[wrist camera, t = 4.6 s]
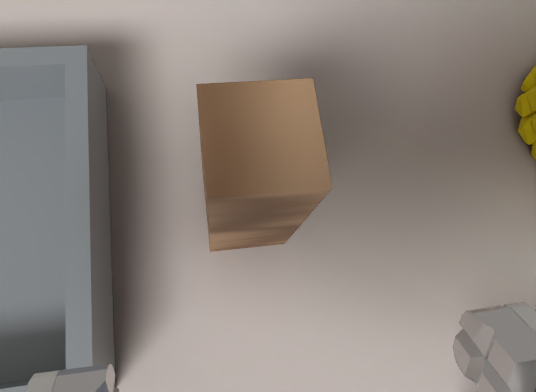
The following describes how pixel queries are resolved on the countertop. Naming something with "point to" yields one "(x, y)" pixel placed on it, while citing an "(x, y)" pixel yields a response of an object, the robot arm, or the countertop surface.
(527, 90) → the food
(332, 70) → the countertop surface
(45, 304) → the bin
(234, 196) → the block
